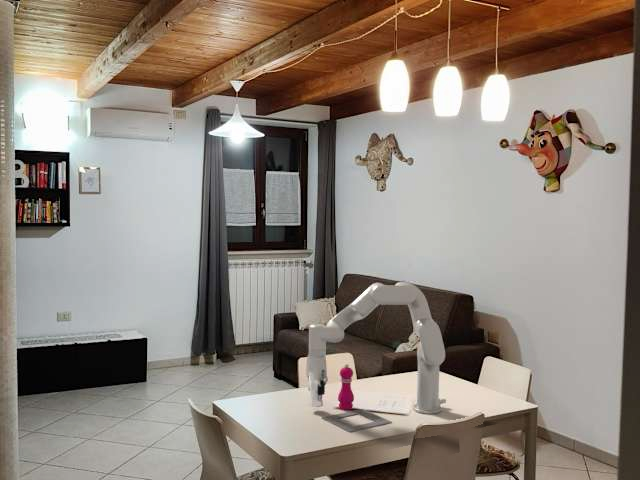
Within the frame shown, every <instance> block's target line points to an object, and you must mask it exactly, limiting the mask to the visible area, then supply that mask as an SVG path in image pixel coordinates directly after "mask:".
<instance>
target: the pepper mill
mask: <svg viewBox="0 0 640 480" xmlns="http://www.w3.org/2000/svg"><path fill="white" fill-rule="evenodd" d="M353 375H354V371H353V369H352V368H351V367H349V364H347V363H345V364H344V367H342V368H341V369H340V370H339V376H340V382H341V388H340V391H339V393H338V396H337V401H338V402H339V403H338V409H340V410H342V411H343V410H344V411H349V410H351V411H352V410H353V408H354V407H353V406H354V404H353V402H354V401H355V396H354V393H353V390H352V386H351V385H352V382H353V381H352V380H353V378H352V377H353ZM352 407H353V408H352Z"/></svg>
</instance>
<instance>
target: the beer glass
mask: <svg viewBox="0 0 640 480" xmlns="http://www.w3.org/2000/svg"><path fill="white" fill-rule="evenodd" d="M321 378H323V377H321ZM321 378H320V379H321ZM320 381H321V382H322V381H323V380H320ZM318 386H319V383H318V380H315V379H314V373H312V372H310V371H309V381H308V390H309V389H310V391H309V395H310V396H309V397H310V400H309V406H310V407H314V408H320V407H323V406H324V400H323V395H318Z"/></svg>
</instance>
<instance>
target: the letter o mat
mask: <svg viewBox="0 0 640 480" xmlns="http://www.w3.org/2000/svg"><path fill="white" fill-rule="evenodd" d="M357 415H361V416H362V417H365V418H367V419H370V420H371V422H367V423H366V422H365V423H364V424H363V423H362V424H358V425H352V424H349V423H348V422H346V421H344V420H342V419H343V418H348V417H352V416H357ZM321 419H322V420H324V421H327V422H328V423H330V424H333V425H334V426H336V427H338V428H341V429H342V430H344V431H346V432H348V433H354V432H358V431H362V430H366V429H370V428H374V427H375V428H376V427H379V426H384V425H387V424H389V425H390V424H392V423H393V422H392V421H391V420H389V419H388V418H387V419H386V418H384V417H382V416H379V415H377V414H375V413H373V412H371V411H368V410H367V409H364V408H360V409H356V410H351V411H346V412H341V413H337V414H332V415H325V416H322V417H321Z"/></svg>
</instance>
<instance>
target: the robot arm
mask: <svg viewBox="0 0 640 480" xmlns="http://www.w3.org/2000/svg"><path fill="white" fill-rule="evenodd" d="M379 305H381V306H386V305H387V306H393V305H395V306H399V305H405V306H407V307H408V309H409V312H410V317H411V322H412V325H413V332H414V334H415V335H416V336H417V337H418V338H419V340H420V341H419V344H418V345H417V349H416V356H417V357H416V358H417V388H416V389H417V392H416V393H417V394H416V403H415V404H414V405H413V406H412V407H413V410H414V411H415V412H418V413H421V414H428V415H433V414H440V413H441V412H442V411H443V408H442V406H441V405H442V404H446V403H447V400H446V398H441V399H440V397H439V395H440V394H439V392H440V366H441V365H442V363H444V361H445V359H446V349H445V344H444V341H443V336H442V332H441V329H440V327H439V325H438V323H437V322H436V321H435V320H433V318H432V314H431V311H430V307H429V304H428V301H427V299H426V296H425V294H424V293H423V292H422V290H421V289H420V288H419V287H417V285H414V284H413V283H410V282H407V281H399V282H396V283H395V284H394V285H393V284H392V285H390V284H389V285H388V284H383V283H381V282H375V283H372V284H371V285H369V287H368V288H366V289H365V290H364V291H363V292H362V293H361V294H360V295H358V297H357V298H356V299H354V301H352V302H351V303H350V304H349V305H348V306H345V308H343V309H342V310H340V311H339V312H338V313H337V314H335V316H334V317H333V318H331V320H329V321H328V323H326V325H325V324H323V323H312V324H310V325H309V327H308V354H307V357H306V368H305V374H306V377H307V379H308V380H307V381H308V382H309V371H310V372H312V373H314V379H315V380H318V383H319V386H318V395H322V396H323V395H325V394H326V393H325V391H326V390H325V386H326V384H327V382H328V381H329V378H328V376H327V374H328V372H327V369H328V368H327V367H328V366H327V356H326V355H327V353H326V352H327V342H329V343H340V342H342V340H343V339H344V338H345V330H346V329H347V328H348V327H350V325H351V324H353V323H355V322H357V321H359V320H363V319H365V318H366V317H367V316H368V315H370V313H372V312H373V311H374V309H375V308H377V307H378V306H379ZM321 377H323V378H321ZM320 378H321V379H320ZM320 380H323V381H322V382H321V381H320ZM308 392H310V389H309V388H308Z"/></svg>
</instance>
